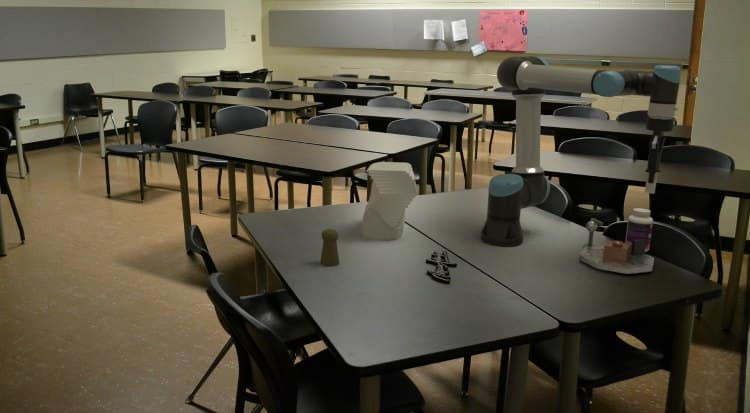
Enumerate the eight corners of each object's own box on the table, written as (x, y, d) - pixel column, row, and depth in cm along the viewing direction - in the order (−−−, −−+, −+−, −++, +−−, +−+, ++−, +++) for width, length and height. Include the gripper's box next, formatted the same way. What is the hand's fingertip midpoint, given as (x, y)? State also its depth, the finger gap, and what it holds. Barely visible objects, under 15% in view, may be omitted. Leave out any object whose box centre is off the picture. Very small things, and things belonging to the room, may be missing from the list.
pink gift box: (625, 261, 200) (627, 246, 199) (602, 257, 203) (604, 242, 202) (629, 255, 206) (631, 241, 204) (607, 251, 209) (609, 237, 208)
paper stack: (353, 240, 222) (354, 169, 216) (371, 220, 248) (373, 156, 241) (412, 246, 218) (415, 173, 211) (424, 225, 243) (428, 160, 237)
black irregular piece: (462, 281, 184) (428, 280, 184) (462, 286, 184) (428, 285, 184) (452, 251, 211) (422, 250, 211) (452, 255, 211) (422, 254, 211)
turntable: (610, 275, 192) (613, 255, 190) (567, 253, 212) (569, 234, 210) (668, 269, 199) (671, 249, 197) (621, 247, 219) (623, 229, 217)
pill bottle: (651, 254, 216) (657, 214, 212) (626, 252, 217) (632, 212, 214) (646, 247, 224) (651, 208, 220) (622, 245, 225) (627, 206, 222)
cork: (342, 261, 201) (342, 228, 198) (334, 267, 195) (335, 233, 193) (324, 259, 203) (325, 226, 200) (317, 265, 197) (317, 231, 194)
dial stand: (580, 250, 218) (584, 220, 215) (585, 246, 223) (588, 216, 220) (599, 254, 215) (602, 223, 212) (603, 249, 220) (606, 219, 217)
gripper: (671, 120, 184) (659, 198, 190) (676, 116, 195) (665, 190, 201) (643, 118, 188) (633, 194, 194) (651, 114, 199) (640, 187, 205)
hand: (649, 192), depth 198 cm, fingers closed
